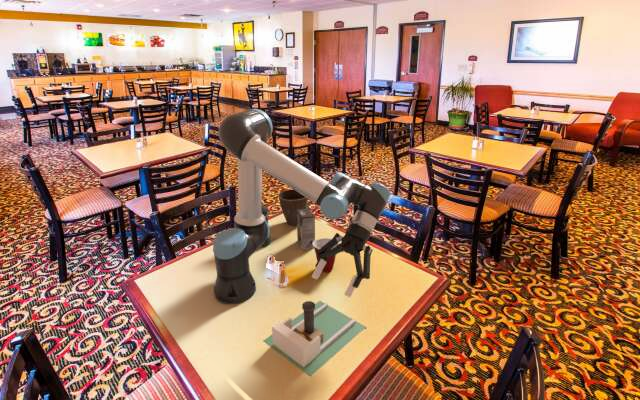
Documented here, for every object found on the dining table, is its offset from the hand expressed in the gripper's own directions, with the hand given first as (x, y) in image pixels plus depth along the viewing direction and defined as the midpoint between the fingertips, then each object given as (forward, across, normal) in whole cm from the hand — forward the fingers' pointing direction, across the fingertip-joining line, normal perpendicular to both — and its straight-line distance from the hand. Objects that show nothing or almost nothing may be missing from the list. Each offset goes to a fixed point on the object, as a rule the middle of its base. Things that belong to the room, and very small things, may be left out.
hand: (330, 286), depth 115 cm
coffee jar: (-3, +60, -25) cm, 65 cm away
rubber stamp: (+17, 0, -4) cm, 18 cm away
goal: (+20, 0, 0) cm, 20 cm away
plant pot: (-21, +64, -42) cm, 79 cm away
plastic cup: (-6, +23, -28) cm, 37 cm away
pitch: (+15, 0, -6) cm, 16 cm away
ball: (+18, 0, +1) cm, 18 cm away
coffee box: (-12, +43, -34) cm, 57 cm away
